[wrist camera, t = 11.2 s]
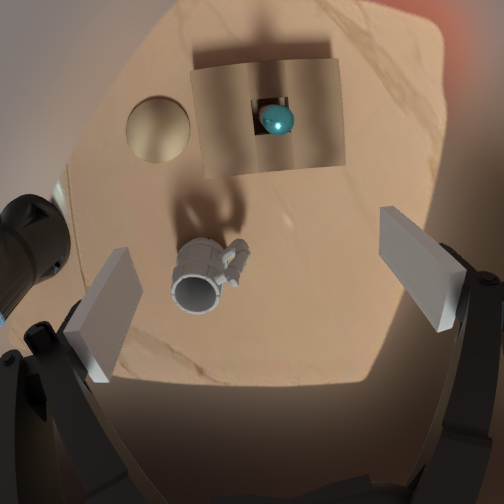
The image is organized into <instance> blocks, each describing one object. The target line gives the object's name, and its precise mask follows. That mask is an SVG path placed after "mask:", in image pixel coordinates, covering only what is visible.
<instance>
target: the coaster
mask: <svg viewBox="0 0 504 504" xmlns="http://www.w3.org/2000/svg"><path fill="white" fill-rule="evenodd" d="M189 135H190V124H189V120H188V117H187V115H186V113H185V112H184V110H183V109H182V108H181V107H180V106H179V105H178V104H176V103H174V102H173V101H170V100H167V99H151V100H148V101H145V102H143V103H142V104H140V105H139V106H138V107H136V109H135V110H134V111H133V112H132V113H131V115H130V117H129V119H128V122H127V125H126V138H127V142H128V145H129V147H130V148H131V150H132V151H133V153H134V154H135V155H136V156H138V157H139V158H141V159H142V160H144V161H147V162H150V163H163V162H167V161H169V160H172V159H173V158H175V157H176V156H178V155H179V154H180V153H181V152H182V151H183V149H184V148H185V146H186V144H187V142H188V139H189Z"/></svg>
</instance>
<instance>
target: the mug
mask: <svg viewBox="0 0 504 504" xmlns="http://www.w3.org/2000/svg"><path fill="white" fill-rule="evenodd" d="M233 256H235V258H234V259H233V260H232V261H231V262H230V263H229V265H228V260H229V259H230V258H231V257H233ZM249 256H250V251H249V247H248V245H247V243H246V242H245V241H244V240H243V239H239V238H238V239H236V240H234V241H233V242H232V243H231V244H230V245H229V246H228V247H227V248H226V249H225V250H224V249H223V248H222V246H221V245H220V244H219V243H218V242H216V241H214V240H212V239H209V240H208V239H207V238H206V237H199V238H195V239H192V240H191V241H189V242H187V243H186V244H185V245H184V246H183V247H182V248H181V249H180V250H179V252H178V256H177V261H176V264H177V266H176V267H175V268H174V270H173V276H172V287H171V296H172V299H173V300H174V301H175V302H176V304H177V305H178V307H179V308H181V309H182V310H184V311H185V312H188V313H191V314H204V313H206V312H207V311H209V312H210V311H211V310H213V309H214V308H215V307H216V306H217V304H218V303H219V300H220V295H221V294H222V291H223V288H224V282H226V281H227V283H228V284H229V285H231V286H233V287H237V286H238V285H239V277H240V275H241V273H242V271H243V269H244V267H245V265H246V261H247V259H248V258H249Z"/></svg>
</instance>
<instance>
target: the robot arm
mask: <svg viewBox="0 0 504 504" xmlns="http://www.w3.org/2000/svg"><path fill="white" fill-rule="evenodd" d="M69 254H70V236H69V232H68V229H67V226H66V224H65V222H64V220H63V218H62V216H61V214H60V213H59V212H58V210H57V209H56V208H55V207H54V206H53V205H52V204H51V203H50V202H49V201H47V200H46V199H44V198H42V197H40V196H37V195H33V194H26V195H22V196H19V197H18V198H16V199H14V200H13V201H11V202H10V203H9V204H8V205H7V206H6V207H5V208H4V210H3V211H2V213H1V214H0V327H1V326H2V325H3V324H4V322H5V320H6V319H7V318H8V316H9V315H10V314H11V312H12V311H13V310H14V309H15V307H16V306H17V305H18V304H19V302H20V301H21V300H22V299H23V297H24V296H25V295H26V294H27V292H28V291H29V290H30V289H31V288H32V286H33V285H36V284H38V283H40V282H42V281H45V280H47V279H49V278H52V277H53V276H55V275H56V274H57V273H58V272H59V271H60V270H61V269H62V268H63V267H64V265H65V264H66V262H67V260H68V258H69ZM379 255H380V257H381V258H382V259H383V260H384V262H385V263H386V264H387V265H388V267H389V268H390V269H391V270H392V272H393V273H394V274H395V276H396V277H397V278H398V279H399V281H400V282H401V283H402V285H403V286H404V287H405V289H406V290H407V291H408V292H409V294H410V295H411V297H412V298H413V299H414V301H415V302H416V303H417V305H418V306H419V307H420V309H421V310H422V311H423V313H424V314H425V316H426V317H427V319H428V320H429V321H430V323H431V324H432V326H433V327H434V329H435V330H436V331H437V332H440V331H444V330H447V329H450V328H452V326H453V322H454V319H455V316H456V317H457V318H458V320H459V321H460V325H459V328H458V331H457V334H456V337H455V340H454V343H455V346H454V350H453V354H452V358H451V362H450V366H449V370H448V374H447V377H446V381H445V385H444V388H443V391H442V395H441V398H440V401H439V404H438V407H437V410H436V413H435V416H434V419H433V422H432V425H431V427H430V430H429V433H428V435H427V438H426V440H425V443H424V446H423V448H422V450H421V453H420V455H419V458H418V460H417V462H416V465H415V467H414V469H413V471H412V472H411V474H410V476H409V478H408V480H407V481H406V483H405V485H404V486H401V485H398V484H394V483H388V482H377V481H374V482H371V481H370V477H369V474H366V475H362V476H358V477H354V478H350V479H347V480H343V481H338V482H333V483H330V484H327V485H325V486H323V487H321V488H319V489H316V490H314V491H311V492H309V493H306V494H304V495H301V496H299V497H296V498H293V499H282V498H272V497H263V496H255V495H238V496H215V497H214V496H213V497H211V504H475V503H476V500H477V498H478V494H479V492H480V488H481V485H482V482H483V479H484V475H485V472H486V468H487V465H488V461H489V457H490V453H491V449H492V443H493V442H492V438H490V437H488V432H489V427H490V422H491V417H492V412H493V406H494V400H495V394H496V387H497V379H498V369H499V360H500V346H501V345H502V349H503V354H504V282H501V281H500V279H499V278H498V277H497V276H496V275H494V274H493V273H490V272H487V271H479V272H478V271H476V270H475V269H474V268H473V267H472V266H471V265H470V264H469V263H468V262H467V261H466V260H464V259H462V257H461V256H460V255H459V254H457V252H456V251H454V250H453V249H452V248H451V247H449V246H447V245H445V244H443V243H437V242H436V241H435V240H433V239H432V238H431V237H430V236H429V235H428V234H426V233H425V232H424V231H423V230H422V229H421V228H419V227H418V226H417V225H416V224H415V223H414V222H412V221H411V220H410V219H409V218H407V217H406V216H405V215H404V214H403V213H401V212H400V211H399V210H398V209H396V208H395V207H394V206H387V207H380V238H379ZM142 293H143V289H142V287H141V284H140V281H139V278H138V276H137V273H136V270H135V267H134V264H133V262H132V259H131V256H130V253H129V250H128V247H125V248H119V249H115V250H114V251H113V253H112V254H111V256H110V257H109V259H108V260H107V262H106V263H105V265H104V266H103V268H102V269H101V271H100V272H99V274H98V275H97V277H96V278H95V280H94V281H93V283H92V285H91V286H90V288H89V289H88V291H87V292H86V294H85V296H84V297H83V299H82V300H79V301H78V302H77V303H76V304H75V305H74V306H73V307H72V308H71V310H70V311H69V313H68V315H67V316H66V318H65V321H63V323H62V325H61V326H60V328H59V330H58V331H57V333H55V332H54V330H53V328H52V326H51V324H50V323H49V322H47V321H42V322H38V323H36V324H34V325H33V326H31V327H30V328H29V329H28V330H27V331H26V333H25V335H24V341H25V342H26V344H27V345H28V347H29V349H30V350H31V352H32V353H33V355H31V356H28V357H24V358H23V356H22V355H21V353H20V352H19V351H18V350H15V349H14V350H10V351H8V352H6V353H5V354H3V355H2V357H1V358H0V504H65V501H64V497H63V491H62V486H61V481H60V475H59V469H58V462H57V456H56V447H55V438H54V428H53V418H54V421H55V424H56V426H57V429H58V431H59V433H60V436H61V438H62V441H63V443H64V446H65V448H66V450H67V453H68V455H69V457H70V459H71V462H72V464H73V465H74V468H75V470H76V472H77V474H78V476H79V478H80V480H81V482H82V484H83V486H84V488H85V490H86V492H87V496H85V497H84V501H85V504H168V503H167V502H166V501H165V499H164V498H163V497H162V496H161V494H160V493H159V492H158V491H157V489H156V488H155V487H154V486H153V484H152V483H151V482H150V480H149V479H148V478H147V477H146V475H145V474H144V473H143V471H142V470H141V469H140V467H139V466H138V464H137V463H136V461H135V460H134V459H133V457H132V456H131V454H130V453H129V451H128V450H127V448H126V447H125V445H124V444H123V442H122V441H121V439H120V438H119V436H118V435H117V433H116V432H115V430H114V428H113V427H112V425H111V423H110V422H109V420H108V418H107V417H106V415H105V413H104V412H103V410H102V408H101V407H100V405H99V403H98V401H97V400H96V398H95V396H94V394H93V392H92V390H91V389H90V387H89V385H88V384H87V382H86V381H85V378H86V376H87V373H88V374H89V375H90V377H91V378H92V380H93V381H94V382H110V379H111V377H112V374H113V371H114V368H115V365H116V362H117V359H118V356H119V353H120V351H121V348H122V345H123V342H124V340H125V337H126V334H127V331H128V329H129V326H130V324H131V321H132V318H133V316H134V313H135V311H136V308H137V305H138V303H139V300H140V298H141V295H142ZM52 415H53V416H52Z"/></svg>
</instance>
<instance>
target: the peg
mask: <svg viewBox="0 0 504 504" xmlns="http://www.w3.org/2000/svg"><path fill="white" fill-rule="evenodd" d="M258 119H259V121H260V122H261V123H262V125H263V126H264V127H265V129H266V130H267V131H268V132H269V133H271V134H273V135H278V136H280V135H285V134H287V133H288V132H289V131H290V130H291V129H292V128H293V126H294V115H293V113H292V112H291V111H290V110H289V109H288V108H287V107H285V106H282V105H275V104H265V105H263V106H261V107H260V109H259V110H258Z"/></svg>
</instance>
